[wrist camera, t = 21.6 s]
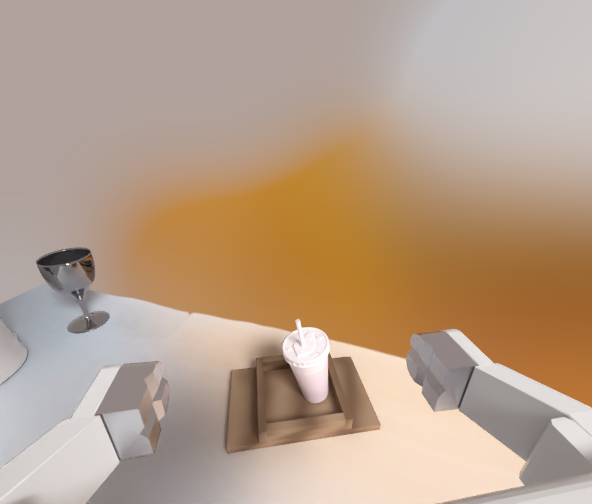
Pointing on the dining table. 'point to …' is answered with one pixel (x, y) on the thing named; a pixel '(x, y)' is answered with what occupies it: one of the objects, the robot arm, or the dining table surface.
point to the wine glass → (73, 283)
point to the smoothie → (308, 360)
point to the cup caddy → (294, 405)
